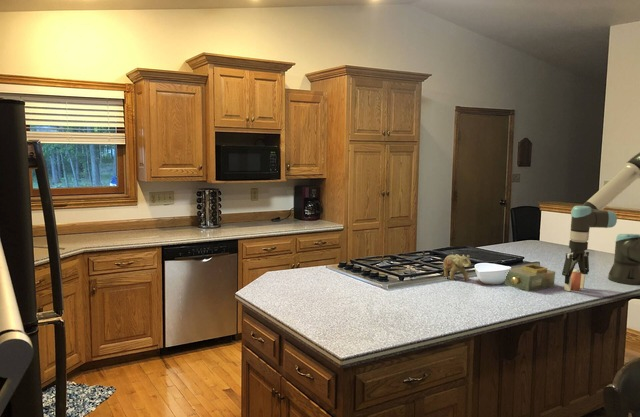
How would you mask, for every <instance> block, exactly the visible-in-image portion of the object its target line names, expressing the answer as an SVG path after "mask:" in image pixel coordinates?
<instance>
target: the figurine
mask: <svg viewBox="0 0 640 417" xmlns="http://www.w3.org/2000/svg"><path fill="white" fill-rule="evenodd" d="M461 255H462V256H461ZM461 255H459V254H457V253H456V254H449V255H447V256H446V257H445V258H444V259H443V261H442V262H443V263H442V268H443V277H444V276H445V277H447V278H448V277H449V278H448V279H447V280H451V281H454V280H456V279H455V277H454V276H455V273H456V274H457V273H458V272H459V273H462V275H463V278H464V279H463V280H464V281H466V282H469V281H470V277H469V276H468V275H469V274H468V272H467V270H466V269H465V267H471V266H472V262H471V260H470V257H471V256H470V254H467V255H466V256H465V254H461Z"/></svg>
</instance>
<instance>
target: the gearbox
mask: <svg viewBox="0 0 640 417" xmlns="http://www.w3.org/2000/svg"><path fill="white" fill-rule="evenodd" d="M510 269H511V270H509V272H508V274H507V276H506V279H505V278H504V285H506V286H509V287H512V288H515V289H519V290H522V291H526V292H528V293H529V292H533V291H534V292H535V291H539V290H544V289H548V288H553V287H555V280H556V271H554V270H551V269H550V270H549V269H548V267H546V266H545V267H544V266H541V265H537V264H534V263H533V264H527V265H522V266H520V267H519V266H518V267H515V268H514V267H513V268H510Z"/></svg>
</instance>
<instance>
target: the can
mask: <svg viewBox="0 0 640 417" xmlns="http://www.w3.org/2000/svg"><path fill="white" fill-rule="evenodd" d="M571 277H572V282H571V291H573V292H580V290H581V288H580V284H581V272H580V270H579V269H573V272H572V274H571Z"/></svg>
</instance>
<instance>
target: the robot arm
mask: <svg viewBox="0 0 640 417" xmlns="http://www.w3.org/2000/svg"><path fill="white" fill-rule="evenodd" d="M638 179H640V152H638V153H636V154H635V155H634V156H632V157H631V158H630V159H629V160H628V161H626V162H625V163H624V166H623V168H622V169H621V170H620V171H619V172H618V173H617V174H615V175H614V176H613V177H612V178H611V179H610V180H609V181H608V182H607V183H605V184H604V185H603V186H602V187H601V188H600V189H599V190H598V191H596V193H594V194H593V195H592V196H591V197H590V198H588V200H586V201H585V202H584V203H583V204H582V205H575V206H573V208H572V209H571V211H570V216H571V221H570V232H569V233H570V234H569V242H568V248H569V249H570V252H569V253H565V260H564V263H563V264H564V265H563V268H562V272H561V275H562V277H563V276H564V289H563V290H564V291H567V292H571V291H572V290H571V282H572V277H571V274H572V272H573V270H575V267H576V264H577V265H578V270H579V272H581V284H580V289H582V290H584V289H585V281H586V275H587V276H588V274H589V272H590V262H589V256H590V252H589V251H587V250H588V247H589V242H588V241H589V239H590V238H589V236H590V235H589V234H590V228H604V229H607V228H613V227H615V226H616V224H617V222H618V221H617V220H618V217H617V214H616V212H614V211H612V210H604V209H605V208H606V207H607V206H608V205H610V203H612V202H613V201H614V200H615V199H616V198H617V197H619V196H620V194H622V193H623V192H625V190H626V189H627V188H629V187H630V186H631V185H632V184H633V183H634V182H635V181H637V180H638ZM607 279H608V280H610V281H612V282H616V283H620V284H625V285H635V286H636V285H640V233H639V234H638V233H619V234H617V235H616V239H615V245H614V258H613V264H612V266H611V268H610V270H609V273H608V277H607Z"/></svg>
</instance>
